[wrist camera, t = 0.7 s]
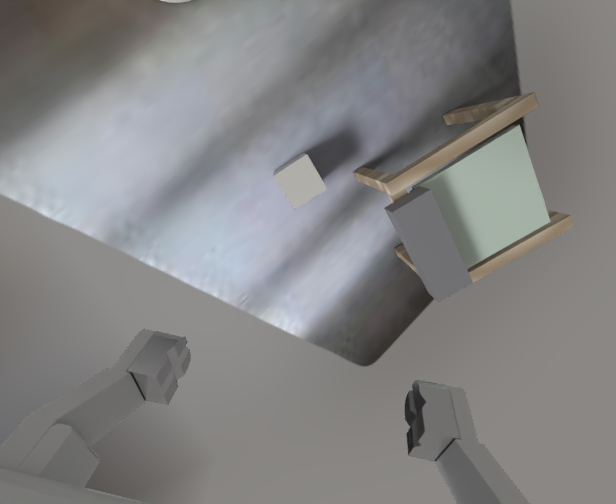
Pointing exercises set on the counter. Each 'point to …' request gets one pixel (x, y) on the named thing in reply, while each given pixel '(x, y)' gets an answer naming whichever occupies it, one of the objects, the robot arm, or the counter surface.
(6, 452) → the robot arm
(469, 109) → the frame
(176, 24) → the counter surface
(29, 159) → the counter surface
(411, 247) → the trapdoor
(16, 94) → the counter surface
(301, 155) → the stone
